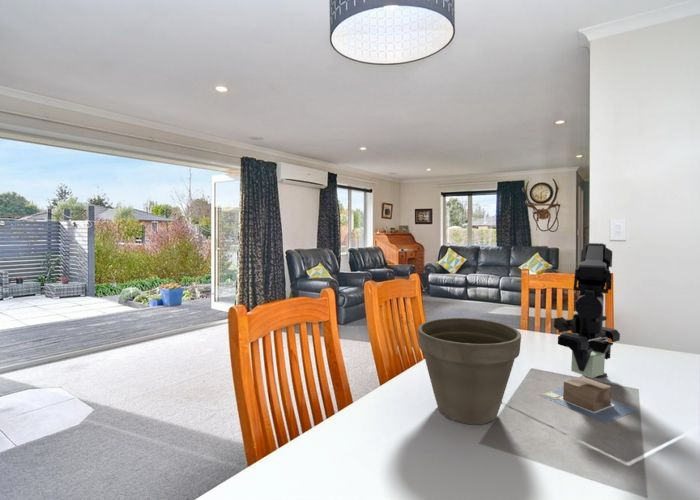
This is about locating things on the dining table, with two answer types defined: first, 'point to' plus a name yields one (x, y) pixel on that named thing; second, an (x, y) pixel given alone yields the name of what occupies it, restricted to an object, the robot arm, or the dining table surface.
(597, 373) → the sage cube
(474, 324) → the plant pot
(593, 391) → the walnut base block
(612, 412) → the board
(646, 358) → the dining table surface
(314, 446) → the dining table surface
